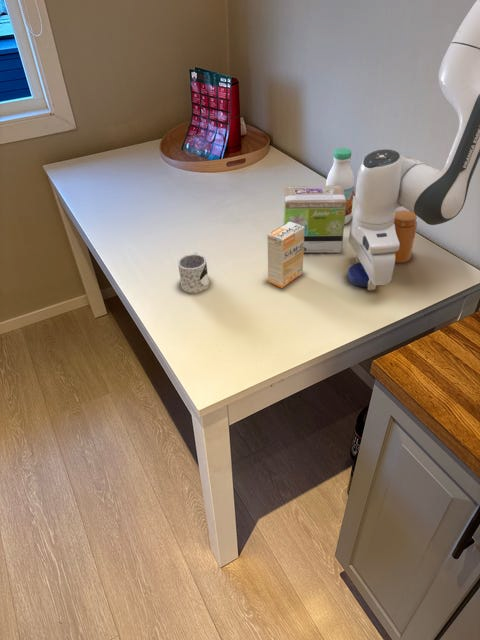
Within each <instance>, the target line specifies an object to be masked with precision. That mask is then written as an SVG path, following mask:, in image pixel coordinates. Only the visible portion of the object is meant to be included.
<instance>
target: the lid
mask: <svg viewBox="0 0 480 640" xmlns="http://www.w3.org/2000/svg"><path fill="white" fill-rule="evenodd" d="M347 279H348V281H349V283H351V284H352V285H354V286H357V287H367V286H366V284H367V281H369V276H368V275H367V273H366V271H365V269H364V268H363V266H362V264H361V263H357V262H356V263H354V264H351V266H349V268H348V271H347Z"/></svg>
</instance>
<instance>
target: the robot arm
mask: <svg viewBox="0 0 480 640" xmlns="http://www.w3.org/2000/svg"><path fill="white" fill-rule="evenodd" d="M437 77H438V78H437V79H438V84H439V88H440V91H441V93H442V95H443V96H444V98H445V99H446V100H447V101H448V103H449V104H450V105H451V106H452V107H453V109H454V110H455V112H456V115H457V117H458V130H457V133H456V136H455V138H454V140H453V143H452V146H451V148H450V151H449V154H448V156H447V158H446V160H445V161H446V162H445V164H444V166H443V168H442V169H441V170H440V169H438V168H436V167H434V166H431V165H429V164H427V163H426V162H423V161H422V160H419V159H417V158H414V157H409V156H408V157H407V156H403V155H401V154H400V153H399V152H398V151H396V150H394V149H389V148H387V149H386V148H385V149H378V150H373V151H372V152H369V153H368V154H367V155H365V156H364V158H363V159H362V161H361V162H360V166H359V168H358V172H357V178H356V185H355V191H354V192H355V193H354V194H355V195H354V197H355V207H354V209H353V211H352V219H351V224H350V228H349V235H348V242H349V245H350V247H351V249H352V250H353V252H354V254H355V261H356V263H361V264H362V266H363V268H364V269H365V271H366V273H367V275H368V276H369V281H367V284H366V286H365V287H366V288H367V290H368V291H374V290H376V288H377V286H384V285H389V284H390V283H391V281H392V278H393V274H394V270H395V265H396V262H395V251H398V250H399V245H400V244H399V240H398V238H397V234H396V231H395V224H394V220H395V212H396V211H397V209H398V208H404V209H405V210H406V211H411V212H413V213H414V214H416V217H417V218H419V219H421V220H422V222H425V224H427V225H430V226H437V225H441V224H444V223H447V222H449V221H451V220H453V219H454V218H456V217H457V216H458V215H459V214H460V213H461V211H462V210H463V208H464V206H465V204H466V201H467V196H468V193H469V187H470V184H471V181H472V178H473V175H474V173H475V170H476V168H477V165H478V164H479V161H480V0H476V1H475V2H474V3H473V5H472V6H471V9H469V11H468V13H467V14H466V15H465V17H464V19H463V20H462V22H461V24H460V25H459V27H458V29H457V31H456V33H455V35H454V36H453V38H452V41H451V42H450V43H449V47H448V48H447V50H446V52H445V54H444V55H443V57H442V60H441V63H440V66H439V70H438V75H437Z"/></svg>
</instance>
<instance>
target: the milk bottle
mask: <svg viewBox="0 0 480 640" xmlns="http://www.w3.org/2000/svg"><path fill="white" fill-rule="evenodd" d="M351 159H352V150H351V149H349V148H345V147H339V148H336V149H334V150H333V164H332V166H331V168H330V171H329V172H328V174H327V177H326V182H325V186H339V185H342V188H343V191H344V195H345V199H346V213H345V221H344V225H347V224H348V223H350V221H352V216H353V205H354V194H355V193H354V192H355V175H354V172H353V170H352V167H351Z"/></svg>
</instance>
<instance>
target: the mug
mask: <svg viewBox="0 0 480 640" xmlns="http://www.w3.org/2000/svg"><path fill="white" fill-rule="evenodd" d="M177 266H178V267H177V268H178V272H179V277H180V278H179V279H180V285H181V289H182V291H184V292H186V293H189V294H197V293H201V292H204V291H205V290H207V289H208V288H209V285H210V282H209V274H208V265H207V258H206V257H205V256H203V255H201V254H198V252H193V253H192V254H186V255H183V256H181V257H180V258H179V260H178V261H177Z"/></svg>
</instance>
